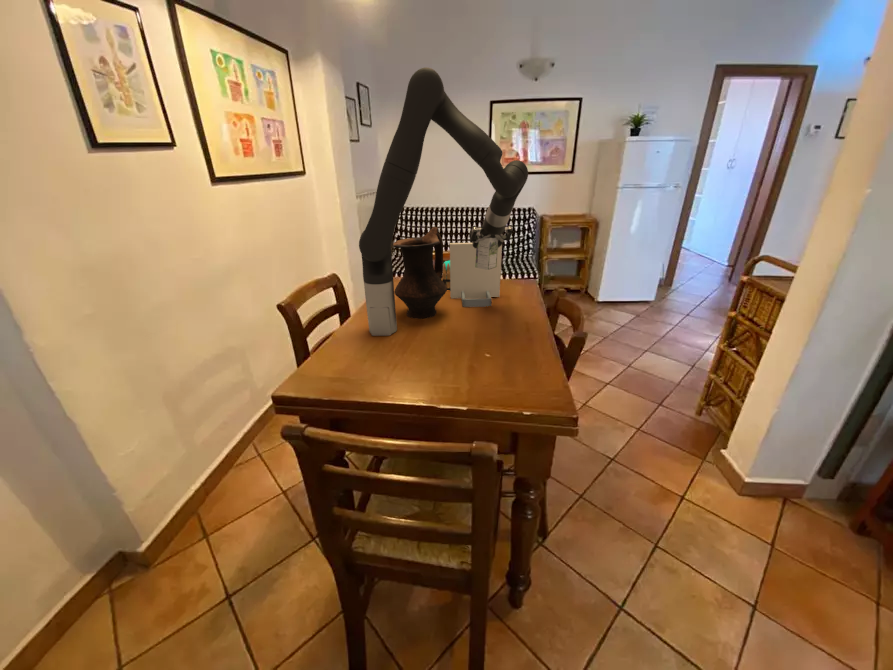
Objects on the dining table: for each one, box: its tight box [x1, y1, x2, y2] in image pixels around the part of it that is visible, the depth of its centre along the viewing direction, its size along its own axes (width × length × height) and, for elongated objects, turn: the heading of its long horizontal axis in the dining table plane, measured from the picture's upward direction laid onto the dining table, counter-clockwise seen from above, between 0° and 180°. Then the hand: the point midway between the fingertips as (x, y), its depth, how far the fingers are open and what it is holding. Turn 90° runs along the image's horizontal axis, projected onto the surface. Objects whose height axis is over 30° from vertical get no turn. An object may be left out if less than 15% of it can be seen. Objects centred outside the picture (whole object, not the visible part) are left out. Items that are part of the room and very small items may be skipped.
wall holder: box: [449, 242, 503, 308], centre depth 143 cm, size 12×20×22 cm, turn 90°
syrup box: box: [475, 235, 498, 270], centre depth 134 cm, size 6×6×14 cm
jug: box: [393, 226, 448, 320], centre depth 130 cm, size 21×18×30 cm
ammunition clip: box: [442, 262, 450, 290], centre depth 159 cm, size 11×2×12 cm, turn 81°
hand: (486, 245), depth 135 cm, fingers closed on syrup box, 8 cm apart
